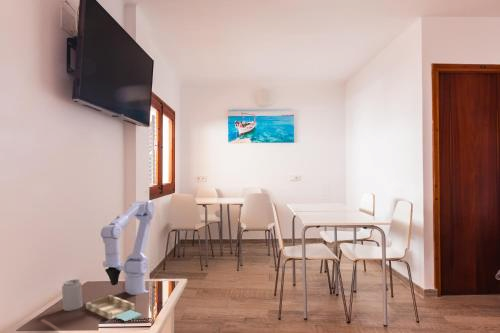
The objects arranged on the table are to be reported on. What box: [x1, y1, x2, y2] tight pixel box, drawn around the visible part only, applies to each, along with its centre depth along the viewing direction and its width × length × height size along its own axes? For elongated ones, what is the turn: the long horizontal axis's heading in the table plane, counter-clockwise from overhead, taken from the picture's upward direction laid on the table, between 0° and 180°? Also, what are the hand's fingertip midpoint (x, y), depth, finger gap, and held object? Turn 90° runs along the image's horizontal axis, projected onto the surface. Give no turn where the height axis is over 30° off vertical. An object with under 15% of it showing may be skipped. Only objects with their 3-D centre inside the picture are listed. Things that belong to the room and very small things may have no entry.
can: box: [61, 278, 84, 311], centre depth 153 cm, size 8×8×12 cm
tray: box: [85, 294, 136, 320], centre depth 148 cm, size 20×11×3 cm, turn 49°
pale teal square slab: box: [113, 310, 143, 321], centre depth 138 cm, size 8×7×2 cm
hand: (114, 284), depth 152 cm, fingers closed
